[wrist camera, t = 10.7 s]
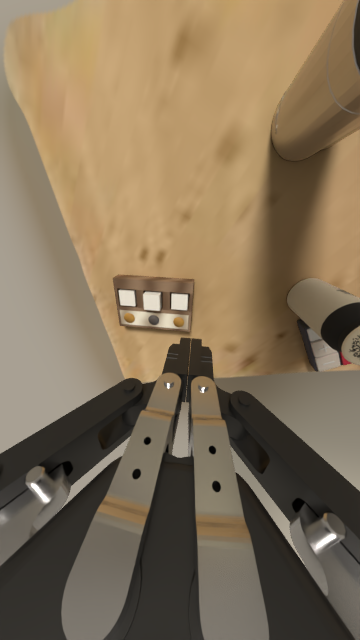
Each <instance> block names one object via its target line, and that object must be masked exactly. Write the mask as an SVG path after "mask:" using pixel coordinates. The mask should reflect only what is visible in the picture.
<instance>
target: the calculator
mask: <svg viewBox="0 0 360 640" xmlns="http://www.w3.org/2000/svg"><path fill="white" fill-rule="evenodd" d="M297 323H298V327H299V330H300V333H301V335H302V338H303V342H304V345H305V349H306V352H307V355H308V359H309V362H310V364H311V366H312V367H313V368H314V370H315V371H319V372H320V371H324V370H328V369H332V368H336V367H339V366H340V365H347V364H351V363H350V362H349V361H347V360H346V359H345V358H344V356H343V355H342V352H338V351H336V350H334V349H332V348H331V347H330V346H329V345H328V344H327V343H326V342H325V341H324V340H323V339H322V338H321V337H319V336H318V335H317V334H316V333H315V332H314V331H313V330H312V329H311V328H310V327H309V326H308V325H307V324H306V323H305V322H304V321H303V320H302V319H299V320H298V321H297Z"/></svg>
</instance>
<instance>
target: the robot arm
mask: <svg viewBox="0 0 360 640" xmlns="http://www.w3.org/2000/svg"><path fill="white" fill-rule="evenodd" d="M359 129H360V0H344V1H343V2H342V4H341V5H340V7H339V8H338V10H337V12H336V13H335V15H334V16H333V18H332V20H331V21H330V23H329V24H328V26H327V27H326V29H325V31H324V32H323V34H322V35H321V37H320V38H319V40H318V42H317V43H316V45H315V46H314V48H313V50H312V51H311V53H310V54H309V56H308V57H307V59H306V61H305V62H304V64H303V65H302V67H301V69H300V70H299V72H298V73H297V75H296V76H295V78H294V80H293V81H292V83H291V84H290V86H289V88H288V89H287V91H286V92H285V93H284V95H283V97H282V99H281V101H280V102H279V104H278V106H277V109H276V111H275V114H274V118H273V121H272V129H271V132H272V141H273V146H274V148H275V150H276V152H277V153H278V154H279V155H280V156H281V157H282V158H284V159H286V160H289V161H299V160H303V159H306V158H308V157H310V156H312V155H313V154H315V153H316V152H318V151H320V150H321V149H327V148H329V147H331V146H332V145H334V144H336V143H337V142H339V141H341V140H342V139H344V138H346V137H347V136H349V135H351V134H352V133H354V132H356V131H357V130H359ZM190 343H191V351H190ZM189 356H190V361H189ZM188 367H189V372H188ZM187 377H188V385H187ZM186 386H187V397H186ZM185 397H186V402H189V413H188V443H189V444H188V445H189V446H188V457H183V458H177V457H175V456H173V455H172V450H173V444H174V439H175V433H176V429H177V424H178V419H179V414H180V410H181V403H182V402H185ZM128 437H130V439H129V441H128V444H127V446H126V449H125V451H124V454H123V456H121V457H119V458H118V459H116V460H115V461H113V462H112V463H110V464H109V465H108V466H107V467H106V468H105V469H104V470H103V471H102V472H100V473H99V474H98V475H97V476H96V477H95V478H94V479H93V480H92V481H91V482H90V483H89V484H88V485H87V486H86V487H84V488H83V489H82V490H81V491H80V492H79V493H78V494H77V495H76V496H75V497H74V498H73V499H72V500H71V501H69V502H68V503H67V504H66V505H65V506H64V507H63V508H62V506H63V505H64V503H65V502H66V500H67V498H68V496H69V493H70V488H71V486H72V485H73V484H74V483H75V482H76V481H77V480H79V479H80V478H81V477H82V476H83V475H84V474H86V473H87V472H88V471H89V470H91V469H92V468H93V467H94V466H95V465H96V464H98V463H99V462H100V461H101V460H102V459H104V458H105V457H106V456H107V455H108V454H110V453H111V452H112V451H113V450H114V449H115V448H117V447H118V446H119V445H120V444H121V443H123V442H124V441H125V440H126V439H127V438H128ZM230 445H231V447H232V448H233V449H234V451H235V452H236V453H237V454H238V456H239V457H240V458H241V459H242V461H243V462H244V463H245V465H246V466H247V467H248V469H249V470H250V471H251V472H252V474H253V475H254V476H255V478H256V479H257V480H258V482H259V483H260V484H261V485H262V487H263V488H264V489H265V491H266V492H267V493H268V494H269V496H270V497H271V498H272V500H273V501H274V502H275V503H276V505H277V506H278V507H279V508H280V510H281V511H282V512H283V514H284V515H285V516H286V518H287V519H288V520H289V521H290V533H291V538H292V541H293V544H294V546H295V548H296V550H297V552H298V553H299V555H300V557H301V558H302V560H303V561H304V563H305V565H304V564H303V563H302V561H301V560H300V558H299V557H298V555H297V554H296V553H295V551H294V550H293V548H292V547H291V545H290V544H289V543H288V541H287V540H286V538H285V537H284V535H283V534H282V532H281V531H280V529H279V528H278V527H277V525H276V524H275V522H274V521H273V519H272V518H271V516H270V515H269V513H268V512H267V511H266V509H265V508H264V506H263V505H262V503H261V502H260V500H259V499H258V498H257V496H256V495H255V493H254V492H253V490H252V489H251V488H250V486H249V485H248V484H247V483H246V481H244V479H243V478H242V477H241V476H240V475H239V474H237V473H236V472H235V468H234V463H233V458H232V452H231V447H230ZM61 508H62V509H61ZM60 509H61V510H60ZM59 510H60V511H59ZM58 511H59V512H58ZM57 512H58V513H57ZM56 513H57V514H56ZM305 566H306V567H305ZM0 640H360V491H359V490H357V489H356V488H355V487H354V486H353V485H352V484H351V483H350V482H349V481H347V480H346V479H345V478H344V477H343V476H342V475H341V474H340V473H339V472H337V471H336V470H335V469H334V468H333V467H332V466H331V465H330V464H328V463H327V462H326V461H325V460H324V459H323V458H322V457H321V456H319V455H318V454H317V453H316V452H315V451H314V450H313V449H312V448H311V447H309V446H308V445H307V444H306V443H305V442H303V440H302V439H301V438H299V437H298V436H297V435H296V434H295V433H294V432H293V431H292V430H290V429H289V428H288V427H287V426H286V425H285V424H284V423H282V422H281V421H280V420H279V419H278V418H277V417H276V416H275V415H274V414H273V413H271V412H270V411H269V410H268V409H267V408H266V407H265V406H264V405H262V404H261V403H260V402H259V401H258V400H257V399H256V398H255V397H253V396H252V395H251V394H249V393H247V392H245V391H235V392H233V393H232V394H230V393H228V392H225V391H223V390H221V389H220V388H218V387H217V385H216V384H215V382H214V378H213V364H212V352H211V350H210V349H209V347H204V346H202V339H192V340H191V338H181V340H180V344H172V345H171V346H170V347H169V350H168V354H167V358H166V361H165V365H164V369H163V372H162V375H161V376H159V378H158V379H157V380H156V381H154V382H152V383H146V384H142V383H141V381H140V380H138V379H135V378H129V379H125V380H123V381H122V382H120V383H118V384H117V385H115V386H114V387H112V388H110V389H108V390H106V391H105V392H103V393H102V394H100V395H98V396H96V397H95V398H93V399H91V400H90V401H88V402H86V403H85V404H83V405H82V406H80V407H78V408H76V409H75V410H73V411H71V412H70V413H68V414H66V415H65V416H63V417H61V418H60V419H58V420H57V421H55V422H53V423H51V424H50V425H48V426H46V427H45V428H43V429H41V430H40V431H38V432H36V433H35V434H33V435H31V436H30V437H28V438H26V439H24V440H23V441H21V442H19V443H18V444H16V445H15V446H13V447H11V448H9V449H8V450H6V451H4V452H3V453H1V454H0Z"/></svg>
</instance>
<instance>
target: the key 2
mask: <svg viewBox="0 0 360 640" xmlns="http://www.w3.org/2000/svg"><path fill="white" fill-rule="evenodd" d="M188 295H189V293H174V292H172V297H171V309H176V310H187V308H188Z"/></svg>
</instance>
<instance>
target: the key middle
mask: <svg viewBox="0 0 360 640" xmlns="http://www.w3.org/2000/svg"><path fill="white" fill-rule="evenodd" d="M143 303H144V310H155V311H160V309H161V307H162V292H158V291H145V293H144V294H143Z"/></svg>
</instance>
